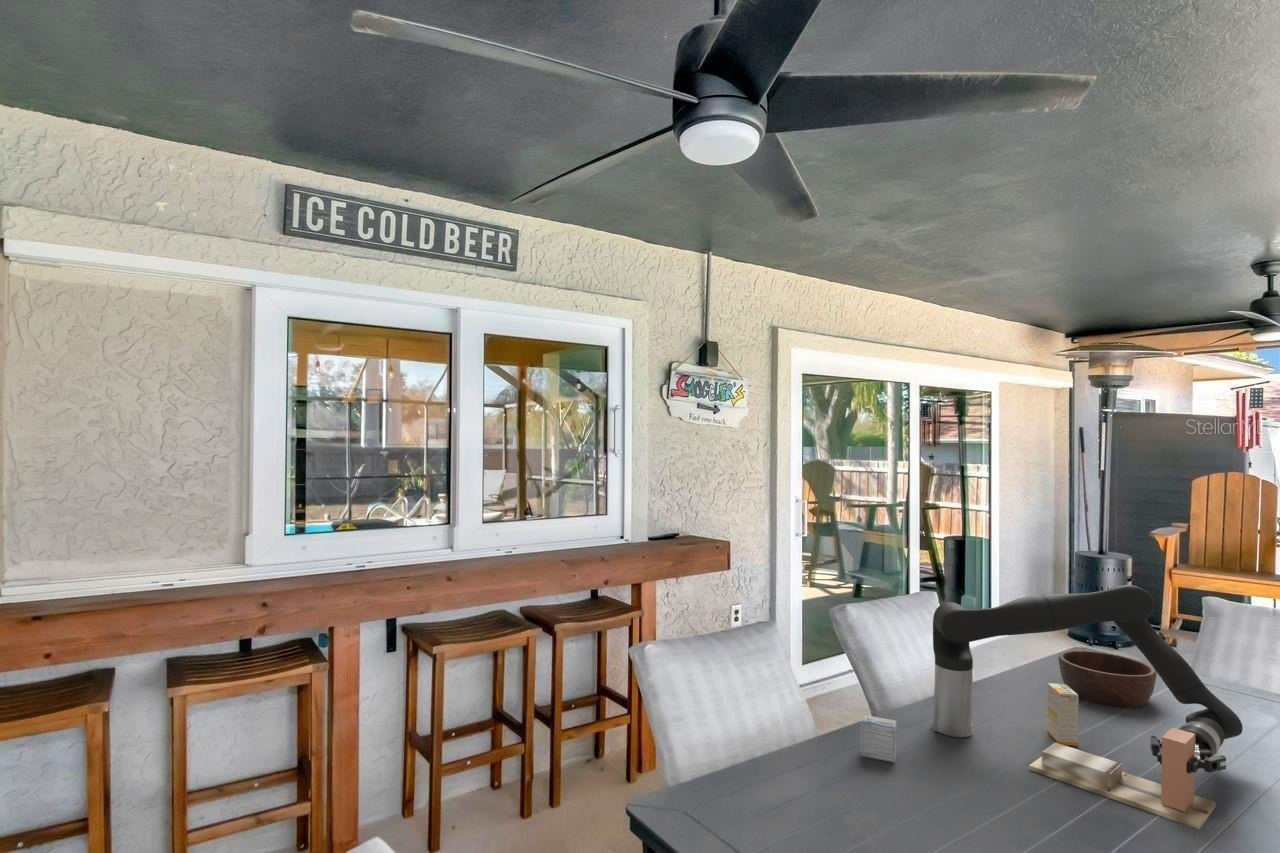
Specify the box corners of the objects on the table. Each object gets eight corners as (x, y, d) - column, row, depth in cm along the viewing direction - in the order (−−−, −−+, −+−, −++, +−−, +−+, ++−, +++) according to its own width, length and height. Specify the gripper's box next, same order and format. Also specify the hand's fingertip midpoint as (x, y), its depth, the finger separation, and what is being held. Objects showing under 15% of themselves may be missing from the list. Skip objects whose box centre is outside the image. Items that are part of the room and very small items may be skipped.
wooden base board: (1029, 769, 166) (1029, 751, 166) (1052, 753, 175) (1052, 736, 175) (1199, 829, 141) (1199, 808, 141) (1215, 806, 150) (1216, 787, 151)
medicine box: (896, 756, 172) (897, 720, 172) (895, 763, 168) (895, 727, 168) (862, 749, 175) (863, 714, 175) (860, 756, 171) (861, 720, 171)
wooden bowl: (1044, 679, 230) (1044, 647, 230) (1127, 684, 226) (1128, 652, 227) (1081, 708, 205) (1081, 673, 205) (1175, 715, 202) (1175, 679, 202)
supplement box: (1079, 746, 179) (1079, 694, 179) (1058, 744, 180) (1058, 693, 180) (1066, 733, 187) (1066, 683, 187) (1046, 731, 188) (1047, 682, 188)
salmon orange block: (1161, 803, 149) (1162, 737, 149) (1171, 792, 154) (1172, 727, 154) (1184, 811, 146) (1185, 743, 146) (1194, 799, 151) (1195, 733, 151)
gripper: (1158, 715, 165) (1135, 734, 154) (1236, 736, 154) (1218, 758, 143) (1157, 748, 165) (1134, 769, 153) (1236, 771, 154) (1217, 796, 143)
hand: (1175, 764), depth 148 cm, fingers closed on salmon orange block, 4 cm apart
